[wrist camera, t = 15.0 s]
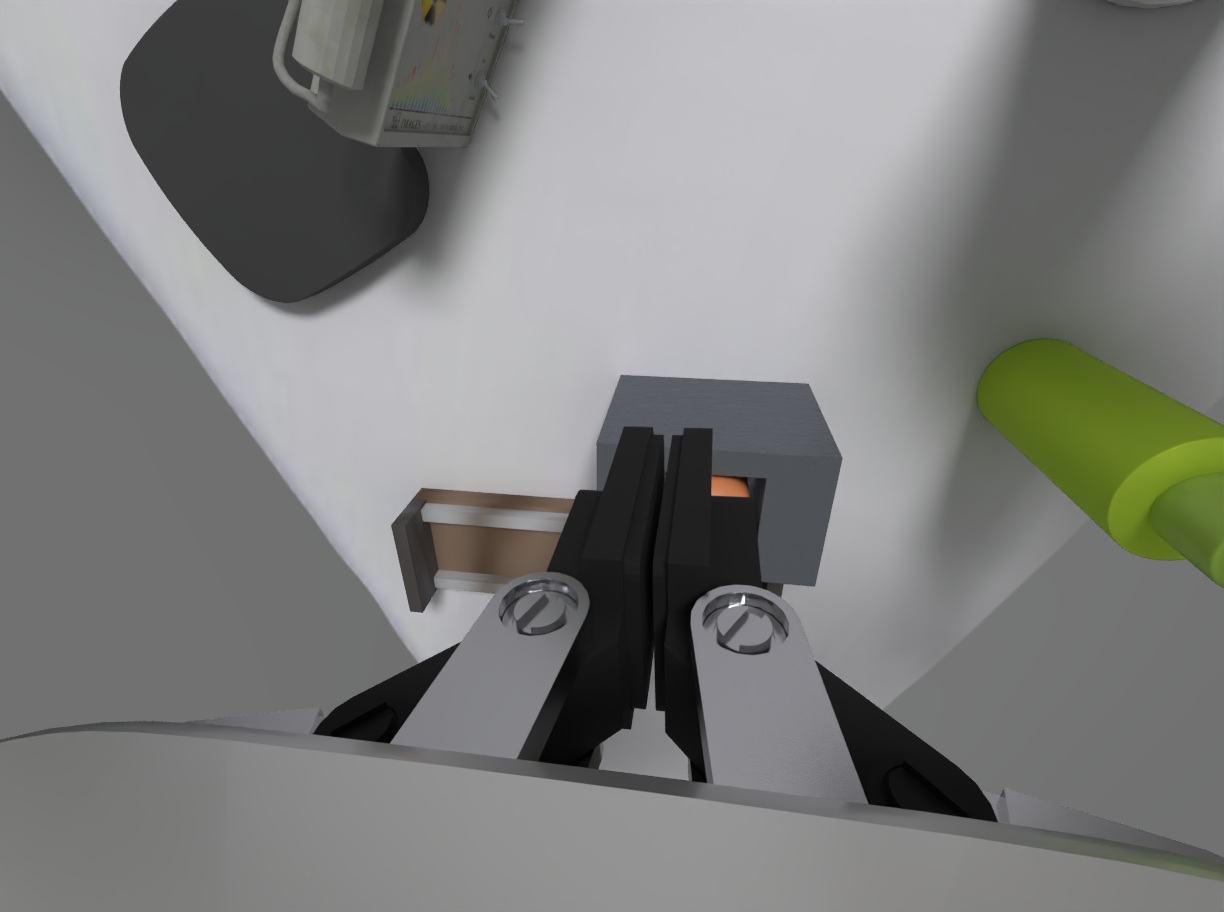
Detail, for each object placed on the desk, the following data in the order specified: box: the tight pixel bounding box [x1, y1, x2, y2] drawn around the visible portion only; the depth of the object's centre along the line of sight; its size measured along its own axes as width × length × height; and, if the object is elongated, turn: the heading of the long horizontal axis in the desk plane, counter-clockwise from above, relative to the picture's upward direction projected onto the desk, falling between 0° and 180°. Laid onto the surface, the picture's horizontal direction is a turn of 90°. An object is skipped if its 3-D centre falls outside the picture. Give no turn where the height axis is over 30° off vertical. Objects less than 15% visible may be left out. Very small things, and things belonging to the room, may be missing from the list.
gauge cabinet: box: [597, 375, 842, 586], centre depth 35 cm, size 12×8×10 cm
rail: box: [391, 488, 783, 613], centre depth 42 cm, size 27×8×5 cm, turn 90°
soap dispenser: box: [977, 339, 1224, 588], centre depth 26 cm, size 6×7×20 cm
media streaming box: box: [120, 0, 429, 303], centre depth 33 cm, size 15×15×3 cm
